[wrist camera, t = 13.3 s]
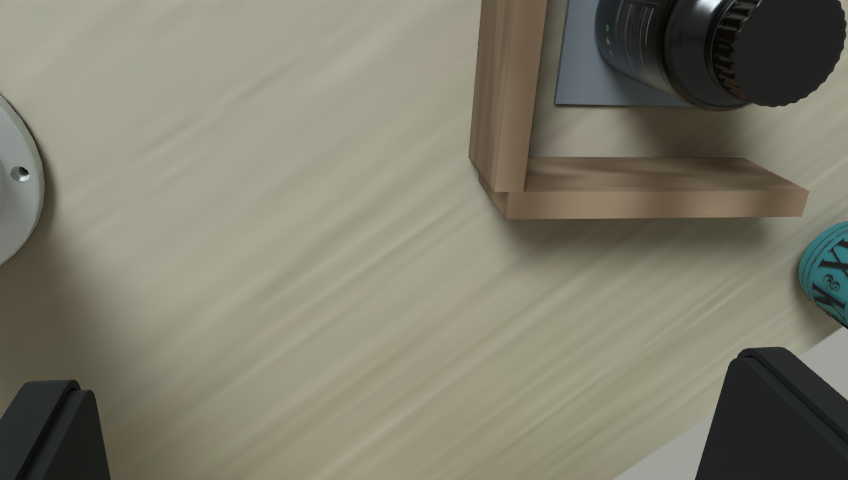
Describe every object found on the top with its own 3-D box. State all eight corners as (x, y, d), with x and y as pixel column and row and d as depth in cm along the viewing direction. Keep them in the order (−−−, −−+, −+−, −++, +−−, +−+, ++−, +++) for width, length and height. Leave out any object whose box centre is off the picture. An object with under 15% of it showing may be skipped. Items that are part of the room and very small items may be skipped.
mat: (553, 102, 37) (555, 103, 37) (580, -92, 33) (582, -93, 33) (712, 106, 39) (715, 107, 39) (756, -79, 35) (759, -80, 35)
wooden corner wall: (466, 181, 39) (491, 219, 33) (497, -187, 31) (537, -214, 26) (737, 180, 42) (801, 216, 36) (826, -155, 34) (924, -174, 29)
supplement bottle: (699, -71, 34) (877, -76, 24) (713, 55, 37) (876, 100, 27) (578, -27, 34) (700, -13, 24) (601, 95, 37) (719, 157, 27)
